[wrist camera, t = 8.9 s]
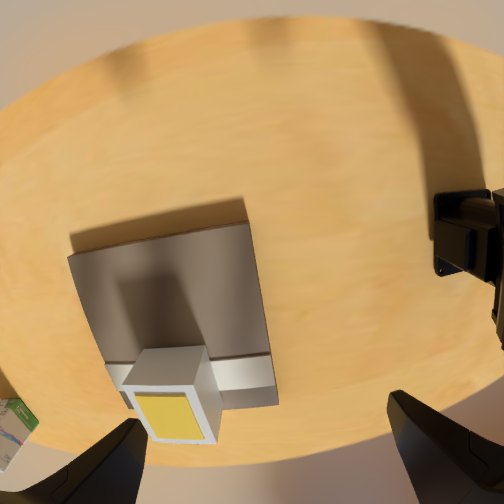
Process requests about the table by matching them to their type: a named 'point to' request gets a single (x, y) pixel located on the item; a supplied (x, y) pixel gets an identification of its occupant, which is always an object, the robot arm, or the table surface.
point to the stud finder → (176, 395)
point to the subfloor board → (182, 306)
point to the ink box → (14, 429)
